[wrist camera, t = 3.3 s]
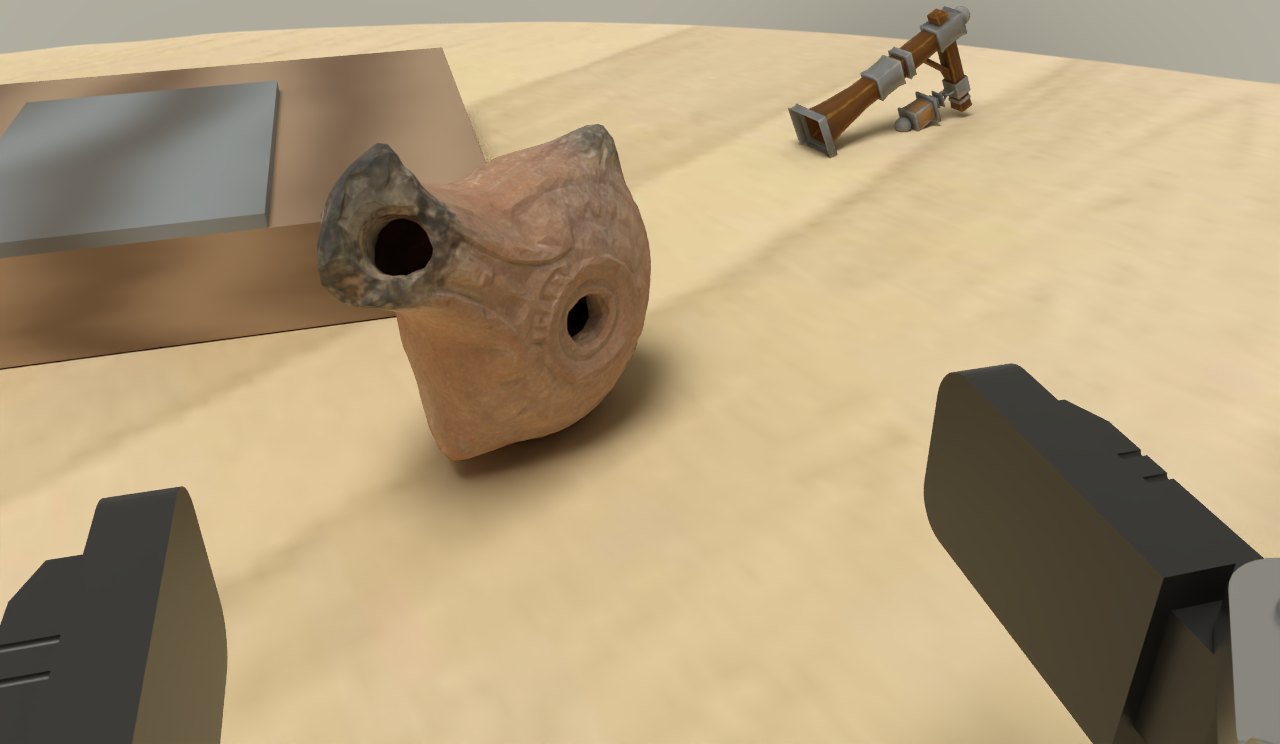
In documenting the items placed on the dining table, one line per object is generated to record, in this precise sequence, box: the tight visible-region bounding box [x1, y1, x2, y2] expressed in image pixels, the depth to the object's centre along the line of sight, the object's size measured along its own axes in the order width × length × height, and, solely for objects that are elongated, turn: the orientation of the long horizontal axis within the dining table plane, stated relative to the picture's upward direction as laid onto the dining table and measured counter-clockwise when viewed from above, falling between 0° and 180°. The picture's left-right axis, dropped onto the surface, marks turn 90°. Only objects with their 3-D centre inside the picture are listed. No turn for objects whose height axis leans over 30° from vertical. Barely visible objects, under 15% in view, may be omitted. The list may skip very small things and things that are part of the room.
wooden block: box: [0, 48, 486, 368], centre depth 34 cm, size 20×16×3 cm
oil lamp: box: [317, 124, 651, 460], centre depth 23 cm, size 9×4×8 cm, turn 146°
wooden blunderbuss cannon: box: [788, 6, 972, 158], centre depth 42 cm, size 2×8×4 cm, turn 120°
